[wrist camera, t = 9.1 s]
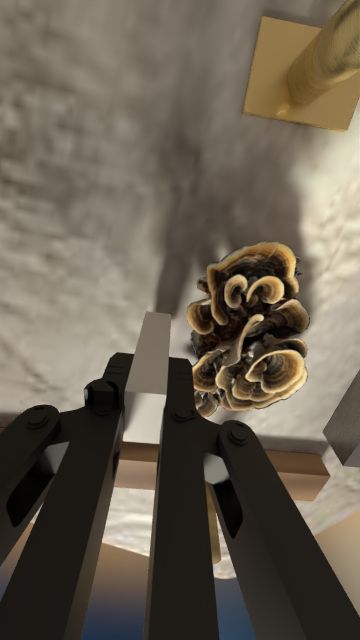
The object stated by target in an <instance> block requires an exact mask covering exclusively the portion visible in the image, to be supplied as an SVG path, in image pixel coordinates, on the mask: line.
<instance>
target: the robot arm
mask: <svg viewBox="0 0 360 640" xmlns="http://www.w3.org/2000/svg"><path fill="white" fill-rule="evenodd" d="M170 327H171V314H165V313H156V312H147V311H146V314H145V318H144V321H143V325H142V329H141V332H140V336H139V340H138V344H137V347H136V351H135V354H128V353H118V352H117V353H116V354H114V355H113V356H112V357H111V358H110V359H109V362H108V364H107V367H106V369H105V372H104V374H103V376H102V378H100V379H97V380H94V381H92V382H90V383H89V384H87V386H86V387H85V388H84V399H85V406H84V407H82V408H79V409H76V410H72V411H66V412H61V413H59V411H58V410H57V408H55V407H53V406H52V405H45V404H44V405H37V406H34V407H31V408H29V409H27V410H26V411H24V412H23V413H21V414H20V415H19V416H18V417H17V418H16V419H15V420H14V421H13V422H12V423H11V424H10V425H9V426H8V427H6V428H5V429H4V430H3V431H2V432H1V433H0V566H1V565H2V563H3V562H4V560H5V559H6V557H7V556H8V554H9V553H10V551H11V550H12V548H13V547H14V545H15V544H16V542H17V541H18V539H19V538H20V536H21V535H22V533H23V532H24V530H25V529H26V527H27V526H28V524H29V523H30V521H31V520H32V518H33V517H34V515H35V514H36V512H37V511H38V509H39V508H40V506H41V505H42V503H43V505H42V507H41V509H40V512H39V514H38V516H37V519H36V521H35V523H34V526H33V528H32V530H31V533H30V535H29V537H28V540H27V542H26V544H25V546H24V549H23V551H22V553H21V556H20V558H19V560H18V563H17V565H16V567H15V570H14V572H13V574H12V577H11V579H10V581H9V584H8V586H7V588H6V590H5V593H4V595H3V598H2V600H1V602H0V640H80V639H81V635H82V630H83V625H84V621H85V617H86V612H87V607H88V602H89V598H90V594H91V589H92V584H93V580H94V575H95V570H96V566H97V561H98V557H99V552H100V547H101V543H102V538H103V534H104V529H105V524H106V520H107V515H108V511H109V506H110V501H111V497H112V492H113V487H114V483H115V478H116V474H117V469H118V464H119V460H120V455H121V444H122V439H123V441H128V442H140V443H153V444H159V451H158V458H157V466H156V469H157V472H156V484H155V496H154V509H153V521H152V533H151V545H150V558H149V570H148V582H147V595H146V608H145V620H144V632H143V640H219V631H218V620H217V608H216V598H215V597H216V596H215V585H214V574H213V563H212V552H211V541H210V530H209V518H208V507H207V496H206V485H205V481H207V485H208V488H209V491H210V494H211V498H212V501H213V504H214V507H215V510H216V513H217V516H218V519H219V523H220V526H221V529H222V532H223V535H224V538H225V541H226V545H227V548H228V551H229V554H230V557H231V560H232V563H233V567H234V570H235V573H236V576H237V579H238V582H239V585H240V589H241V592H242V595H243V598H244V601H245V604H246V607H247V610H248V614H249V617H250V620H251V623H252V626H253V629H254V632H255V636H256V639H257V640H360V617H359V615H358V613H357V612H356V610H355V608H354V606H353V605H352V603H351V601H350V599H349V598H348V596H347V594H346V592H345V591H344V589H343V587H342V585H341V584H340V582H339V580H338V578H337V577H336V575H335V573H334V571H333V570H332V568H331V566H330V564H329V563H328V561H327V559H326V557H325V556H324V554H323V552H322V550H321V549H320V547H319V545H318V543H317V542H316V540H315V538H314V536H313V535H312V533H311V531H310V529H309V528H308V526H307V524H306V522H305V521H304V519H303V517H302V515H301V514H300V512H299V510H298V508H297V507H296V505H295V503H294V501H293V500H292V498H291V496H290V494H289V493H288V491H287V489H286V487H285V486H284V484H283V482H282V480H281V479H280V477H279V475H278V473H277V472H276V470H275V468H274V466H273V465H272V463H271V461H270V459H269V458H268V456H267V454H266V452H265V451H264V449H263V447H262V445H261V444H260V442H259V440H258V438H257V437H256V435H255V433H254V432H253V431H252V429H251V428H250V427H249V426H247V425H246V424H245V423H242V422H240V421H237V420H229V421H226V422H224V423H223V424H222V425H219V424H216V423H213V422H211V421H209V420H207V419H205V418H204V417H203V416H201V415H200V413H199V412H198V410H197V409H196V405H195V394H194V382H193V369H192V365H191V363H190V362H189V360H188V359H183V358H173V357H169V344H170Z"/></svg>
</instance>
